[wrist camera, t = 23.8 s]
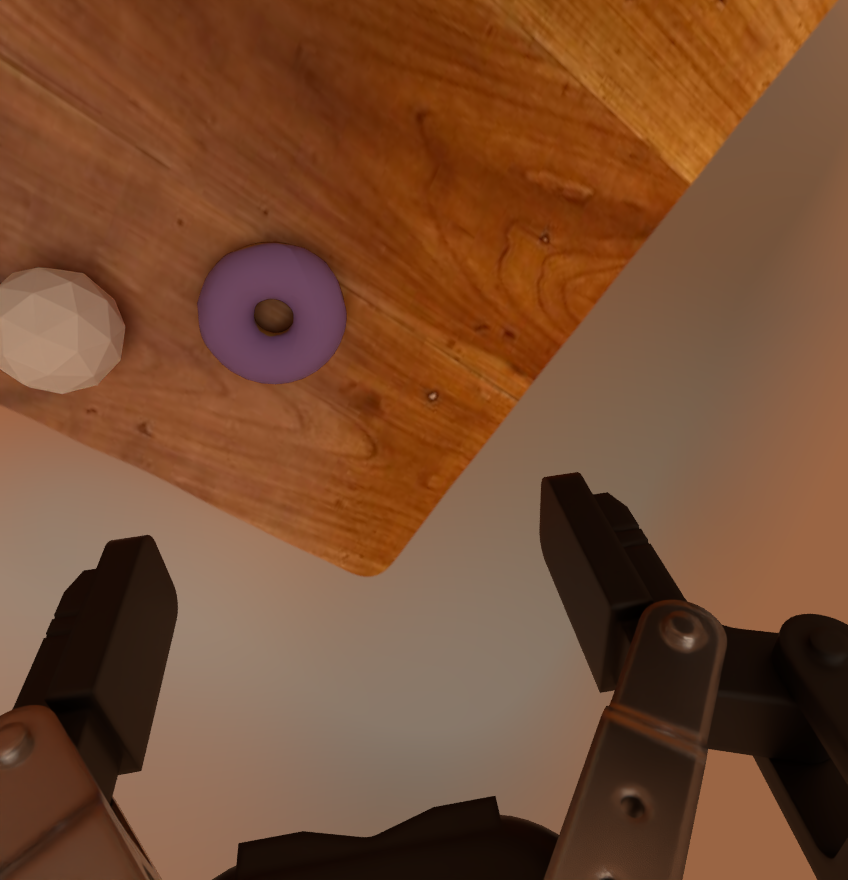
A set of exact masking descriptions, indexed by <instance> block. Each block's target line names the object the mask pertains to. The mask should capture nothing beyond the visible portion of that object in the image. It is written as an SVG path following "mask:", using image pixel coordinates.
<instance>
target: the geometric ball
mask: <svg viewBox="0 0 848 880" xmlns="http://www.w3.org/2000/svg"><path fill="white" fill-rule="evenodd" d="M124 334H125V324H124V322H123V319H122V317H121V314H120V312H119V309H118V307H117V304H116V302H115V300H114V299H113V298H112V297H111V296H110V295H109V294H107V293H106V292H105V291H104V290H103V289H102V288H100V287H99V286H98V285H97V284H96V283H95V282H93V281H92V280H91V279H90V278H89V277H88V276H86V275H85V274H84V273H79V272H73V271H66V270H59V269H53V268H42V267H37V268H33V269H28V270H23V271H18V272H13V273H12V274H11V275H10V276H8V277H7V278H6V279H5V280H4V281H3V282H2V283H1V284H0V369H1V370H2V371H4V372H5V373H7V374H8V375H10V376H11V377H13V378H14V379H16V380H17V381H19V382H20V383H22V384H24V385H26V386H28V387H30V388H35V389H40V390H45V391H50V392H55V393H60V394H64V393H68V392H72V391H76V390H80V389H84V388H88V387H92V386H95V385H98V384H99V383H100V382H101V381H102V380H103V379H104V377H105V376H106V375H107V374H108V373H109V372H110V371H111V370H112V369H113V368H114V367H115V366H116V365H117V364H118V363H119V362H120V361H121V355H122V348H123V341H124Z"/></svg>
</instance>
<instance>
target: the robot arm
mask: <svg viewBox="0 0 848 880" xmlns="http://www.w3.org/2000/svg"><path fill="white" fill-rule="evenodd" d="M540 543H541V548H542V552H543V556H544V559H545V562H546V564H547V567H548V569H549V571H550V574H551V576H552V579H553V581H554V584H555V586H556V588H557V590H558V593H559V596H560V598H561V600H562V603H563V605H564V607H565V610H566V612H567V615H568V617H569V619H570V622H571V624H572V627H573V629H574V631H575V633H576V636H577V639H578V641H579V643H580V646H581V648H582V651H583V653H584V655H585V658H586V660H587V663H588V665H589V667H590V670H591V672H592V675H593V677H594V679H595V682H596V684H597V686H598V689H599V691H600V693H601V692H607V691H613V690H615V691H614V695H613V697H612V700H611V703H610V705H609V706H606V708H605V709H604V711H603V713H602V716H601V719H600V721H599V724H598V727H597V730H596V733H595V735H594V738H593V741H592V744H591V747H590V750H589V752H588V755H587V758H586V761H585V764H584V767H583V770H582V772H581V775H580V778H579V781H578V784H577V786H576V789H575V792H574V795H573V798H572V801H571V803H570V806H569V809H568V812H567V815H566V818H565V820H564V823H563V826H562V829H561V832H560V835H558V834H556V833H555V832H553V831H551V830H549V829H547V828H545V827H544V826H542V825H539V824H536V823H534V822H531V821H529V820H525V819H521V818H517V817H513V816H505V815H500V814H499V810H498V806H497V801H496V797H495V796H492V797H486V798H481V799H475V800H471V801H465V802H459V803H454V804H449V805H443V806H438V807H433V808H431V809H429V810H427V811H425V812H423V813H421V814H419V815H417V816H415V817H412V818H411V819H408V820H406V821H404V822H402V823H400V824H398V825H396V826H394V827H392V828H390V829H388V830H386V831H384V832H381V833H380V834H377V835H375V836H372V837H354V836H345V835H335V834H324V833H314V832H304V831H302V832H298V833H292V834H286V835H281V836H276V837H270V838H265V839H259V840H254V841H248V842H244V843H239V844H238V855H237V865H236V866H234V867H232V868H230V869H228V870H227V871H225V872H224V873H222V874H220V875H219V876H217V877H216V878H214V879H213V880H682V879H683V874H684V869H685V864H686V858H687V854H688V849H689V844H690V839H691V834H692V829H693V824H694V819H695V813H696V809H697V804H698V799H699V794H700V789H701V784H702V779H703V774H704V769H705V764H706V759H707V753H708V749H714V750H720V751H726V752H733V753H740V754H746V755H753V757H754V759H755V761H756V762H757V765H758V766H759V768H760V770H761V772H762V774H763V776H764V778H765V780H766V782H767V784H768V786H769V788H770V789H771V791H772V793H773V795H774V797H775V799H776V801H777V803H778V805H779V807H780V809H781V811H782V813H783V814H784V816H785V818H786V820H787V822H788V824H789V826H790V828H791V830H792V832H793V834H794V835H795V837H796V839H797V841H798V843H799V845H800V847H801V849H802V851H803V853H804V855H805V856H806V858H807V860H808V862H809V864H810V866H811V868H812V870H813V872H814V874H815V876H816V878H817V880H848V625H847V624H845V623H843V622H841V621H839V620H836V619H834V618H831V617H827V616H822V615H817V614H802V615H796V616H794V617H791V618H790V619H788V620H787V621H786V622H785V623H784V624H783V625H782V627H781V629H780V632H779V633H771V632H763V631H754V630H745V629H737V628H731V627H727V626H724V625H721V623H720V622H719V621H718V620H717V619H716V618H715V617H714V616H713V615H712V614H711V613H710V612H708V611H707V610H705V609H704V608H702V607H700V606H698V605H695V604H693V603H690V602H687V600H686V599H685V598H684V597H683V595H682V593H681V591H680V590H679V588H678V587H677V585H676V583H675V582H674V580H673V579H672V577H671V576H670V574H669V572H668V571H667V569H666V568H665V566H664V564H663V563H662V561H661V560H660V558H659V557H658V555H657V553H656V552H655V550H654V549H653V547H652V545H651V544H649V543H648V539H647V538H646V536H645V535H644V533H643V531H642V530H641V529H639V525H638V523H637V522H636V520H635V519H634V517H633V515H632V514H631V512H630V511H629V509H628V507H627V506H625V505H624V504H623V503H621V502H620V501H619V500H617V499H616V498H614V497H613V496H612V495H610V494H609V493H608V492H607V493H600V494H594V495H593V494H592V492H591V491H590V489H589V488H588V486H587V484H586V482H585V480H584V478H583V477H582V476H581V474H580V473H578V472H575V473H569V474H563V475H555V476H549V477H544V478H543V479H542V482H541V503H540ZM177 613H178V602H177V594H176V590H175V587H174V585H173V582H172V580H171V578H170V575H169V573H168V570H167V568H166V566H165V563H164V561H163V559H162V557H161V554H160V552H159V550H158V547H157V545H156V543H155V541H154V539H153V538H152V537H151V536H150V535H144V536H138V537H131V538H124V539H118V540H111V541H109V542H108V543H107V544H106V546H105V548H104V551H103V553H102V556H101V558H100V561H99V563H98V566H97V568H96V569H92V570H85V571H83V572H82V573H81V574H80V575H79V576H78V578H77V579H76V580H75V581H74V582H73V583H72V584H71V585H70V586H69V588H67V590H66V591H65V592H64V594H63V596H62V598H61V601H60V603H59V605H58V607H57V610H56V612H55V614H54V616H55V619H52V621H51V623H50V626H49V628H48V630H47V632H46V635H47V636H46V638H44V639H43V642H42V644H41V646H40V648H39V651H38V653H37V655H36V657H35V660H34V662H33V664H32V667H31V669H30V671H29V674H28V676H27V678H26V680H25V683H24V685H23V687H22V689H21V692H20V694H19V696H18V699H17V701H16V703H15V705H14V707H13V709H12V710H11V711H9V712H7V713H5V714H3V715H1V716H0V880H162V879H161V877H160V876H159V874H158V872H157V870H156V869H155V867H154V865H153V864H152V862H151V860H150V858H149V857H148V855H147V853H146V852H145V850H144V848H143V846H142V845H141V843H140V841H139V840H138V838H137V836H136V835H135V833H134V831H133V830H132V828H131V826H130V824H129V823H128V821H127V819H126V817H125V816H124V814H123V812H122V810H121V809H120V807H119V805H118V804H117V802H116V800H115V799H114V798H113V796H112V795H113V791H114V788H115V784H116V780H117V776H118V775H121V774H127V773H133V772H138V771H141V770H142V765H143V761H144V757H145V753H146V748H147V744H148V740H149V735H150V731H151V726H152V723H153V718H154V714H155V710H156V705H157V701H158V697H159V693H160V688H161V684H162V680H163V675H164V671H165V667H166V662H167V658H168V654H169V650H170V645H171V641H172V637H173V633H174V628H175V624H176V620H177Z"/></svg>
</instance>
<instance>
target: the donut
mask: <svg viewBox="0 0 848 880" xmlns="http://www.w3.org/2000/svg"><path fill="white" fill-rule="evenodd" d="M266 299H277V300H281V301H282V302H284V303H286V304H287V305H288V306H289V307H290V308H291V310H292V312H293V314H294V320H293V324H292V325H291V326H290V328H288V329H287V330H285V331H283V332H278V333H272V332H269V331H266V330H264V329H263V328H261V327H260V326H259V325H258V324H257V323H256V321H255V318H254V311H255V306H256V305H257V303H259V302H261V301H263V300H266ZM197 304H198V316H199V327H200V332H201V335H202V338H203V340H204V342H205V344H206V346H207V347H208V348H209V349H210V351H211V352H212V353H213V355H214V356H215V357H216V358H217V359H218V360H219V361H220V362H221V363H222V364H223V365H224V366H225V367H227V368H228V369H229V370H230V371H232V372H234V373H236V374H238V375H239V376H241V377H243V378H245V379H248V380H252V381H256V382H260V383H267V384H282V383H290V382H293V381H297V380H300V379H303V378H305V377H307V376H309V375H310V374H312V373H314V372H316V371H317V370H318V369H320V368H321V367H322V366H323V365H324V364H325V363H326V362H328V360H329V359H330V358H331V357H332V356H333V354H334V353H335V351H336V350H337V348H338V346H339V344H340V342H341V339H342V336H343V334H344V331H345V327H346V308H345V304H344V298H343V295H342V291H341V288H340V286H339V282H338V280H337V279H336V277H335V275H334V274H333V272H332V271H331V269H330V268H329V266H328V265H327V264H326V262H325V261H323V260H322V259H321V258H319V257H318V256H316V255H315V254H313V253H311V252H310V251H308V250H307V249H305V248H301V247H297V246H294V245H290V244H285V243H278V242H263V243H256V244H252V245H248V246H246V247H243V248H241V249H239V250H236V251H234V252H231V253H229V254H227V255H225V256H224V257H223V258H222V259H221V260H220V261H219V262H218V263H217V264H216V265H215V266H214V268H213V269H212V270H211V271H210V272H209V274H208V276H207V277H206V279H205V282H204V284H203V287H202V290H201V293H200V296H199V300H198V303H197Z"/></svg>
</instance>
